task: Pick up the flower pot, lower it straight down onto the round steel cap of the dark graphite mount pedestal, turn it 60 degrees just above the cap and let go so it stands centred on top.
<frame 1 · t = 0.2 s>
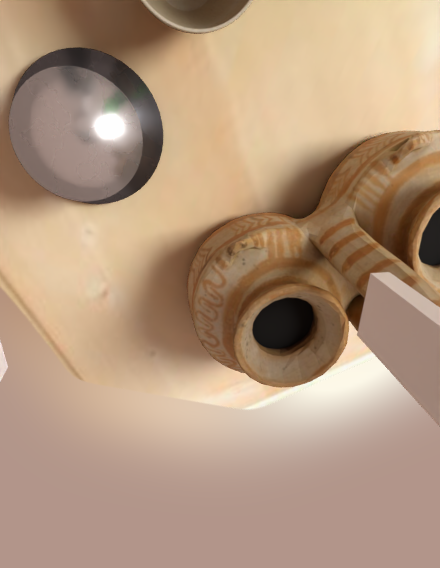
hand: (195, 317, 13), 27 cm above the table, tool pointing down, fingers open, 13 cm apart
ceramic vessel: (316, 241, 44), on the table
mount pedestal: (91, 131, 34), on the table
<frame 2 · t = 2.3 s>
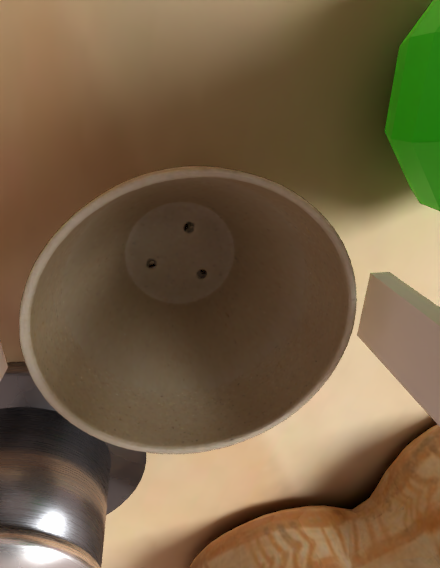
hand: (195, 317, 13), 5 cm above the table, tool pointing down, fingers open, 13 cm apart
flower pot: (181, 249, 17), on the table
ceramic vessel: (366, 506, 31), on the table
mount pedestal: (31, 452, 21), on the table
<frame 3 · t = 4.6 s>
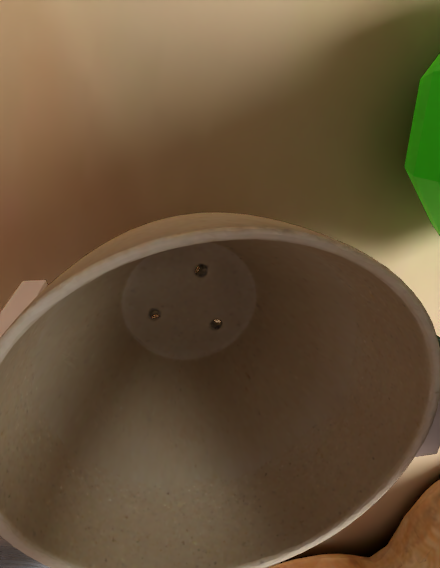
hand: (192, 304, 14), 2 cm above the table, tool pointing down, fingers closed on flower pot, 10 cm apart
flower pot: (191, 294, 14), point 2 cm above the table, touching gripper
ceramic vessel: (382, 552, 29), on the table
mount pedestal: (26, 501, 20), on the table
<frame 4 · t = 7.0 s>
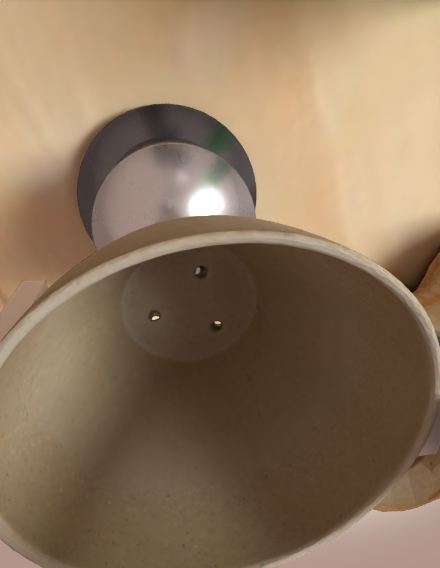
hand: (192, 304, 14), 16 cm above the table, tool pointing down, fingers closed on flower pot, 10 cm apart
flower pot: (191, 296, 14), point 16 cm above the table, touching gripper
ceramic vessel: (408, 315, 38), on the table
mount pedestal: (170, 199, 28), on the table
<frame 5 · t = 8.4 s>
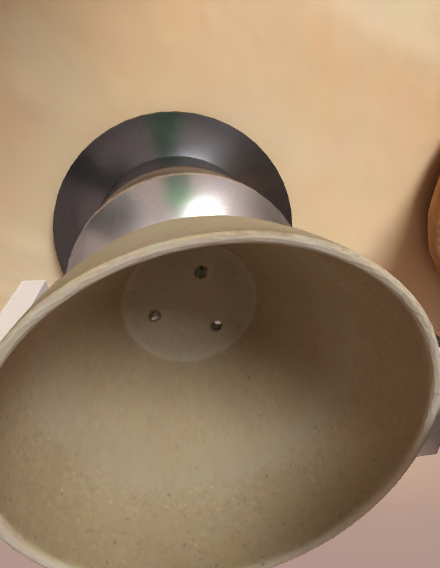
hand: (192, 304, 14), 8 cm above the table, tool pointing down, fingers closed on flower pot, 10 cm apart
flower pot: (191, 296, 14), point 8 cm above the table, touching gripper
mount pedestal: (178, 235, 21), on the table
when the fingers open (8 cm above the table, at t = 9.6 s): flower pot stays where it is, resting on mount pedestal.
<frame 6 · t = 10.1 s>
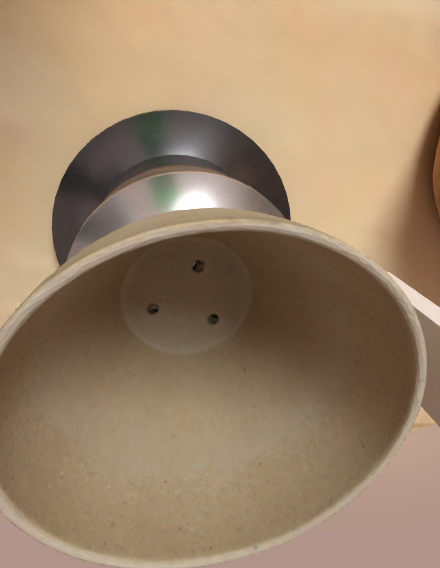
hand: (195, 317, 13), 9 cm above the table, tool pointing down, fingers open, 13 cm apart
flower pot: (188, 290, 15), point 7 cm above the table, touching mount pedestal
mount pedestal: (176, 234, 21), on the table
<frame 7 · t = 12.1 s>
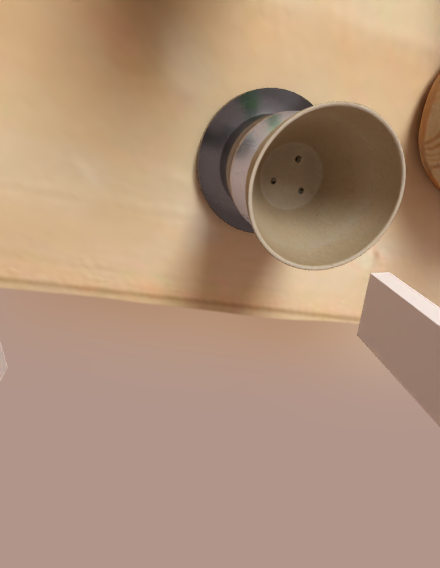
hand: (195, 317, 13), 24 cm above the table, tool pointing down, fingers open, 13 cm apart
flower pot: (289, 175, 29), point 7 cm above the table, touching mount pedestal
mount pedestal: (264, 165, 35), on the table
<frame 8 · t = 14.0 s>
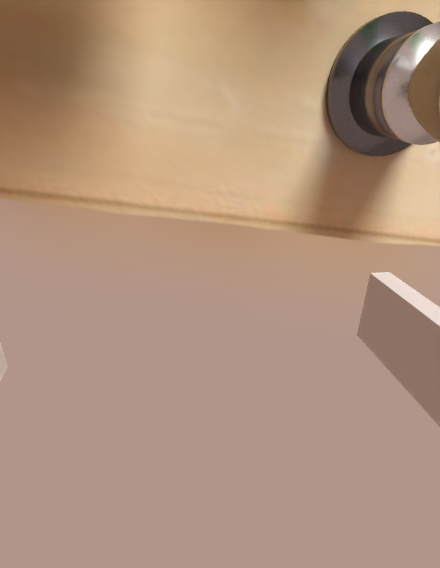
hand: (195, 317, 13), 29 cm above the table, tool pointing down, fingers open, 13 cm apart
flower pot: (433, 85, 32), point 7 cm above the table, touching mount pedestal
mount pedestal: (385, 89, 38), on the table
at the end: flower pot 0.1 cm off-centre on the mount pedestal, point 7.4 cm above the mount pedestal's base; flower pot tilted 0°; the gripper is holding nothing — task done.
